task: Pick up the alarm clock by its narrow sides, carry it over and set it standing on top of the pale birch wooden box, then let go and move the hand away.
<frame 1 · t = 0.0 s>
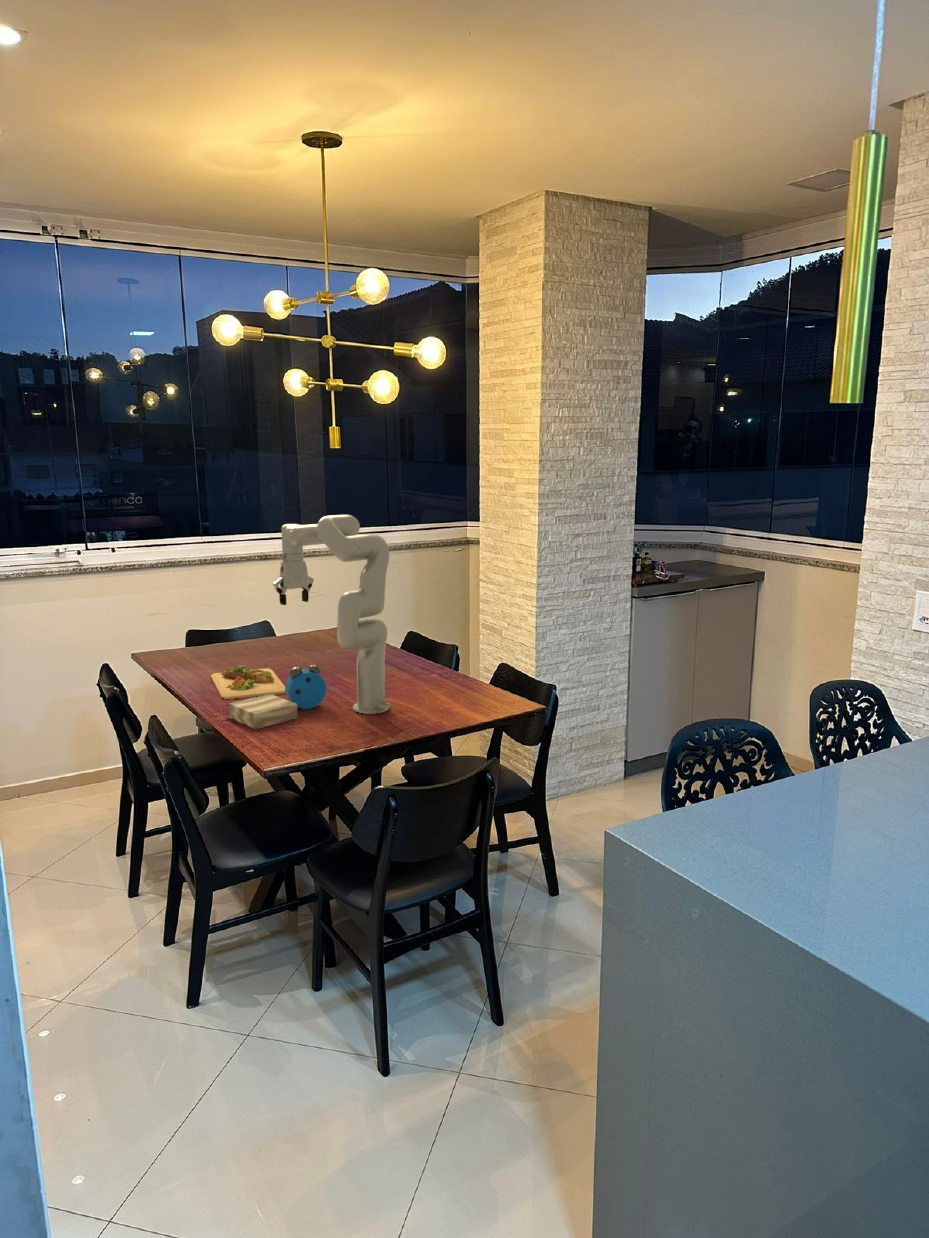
hand: (294, 603, 319), 31 cm above the table, tool pointing down, fingers open, 9 cm apart
cutting board: (248, 686, 324), on the table
wooden box: (263, 718, 283), on the table
alarm clock: (306, 708, 295), on the table
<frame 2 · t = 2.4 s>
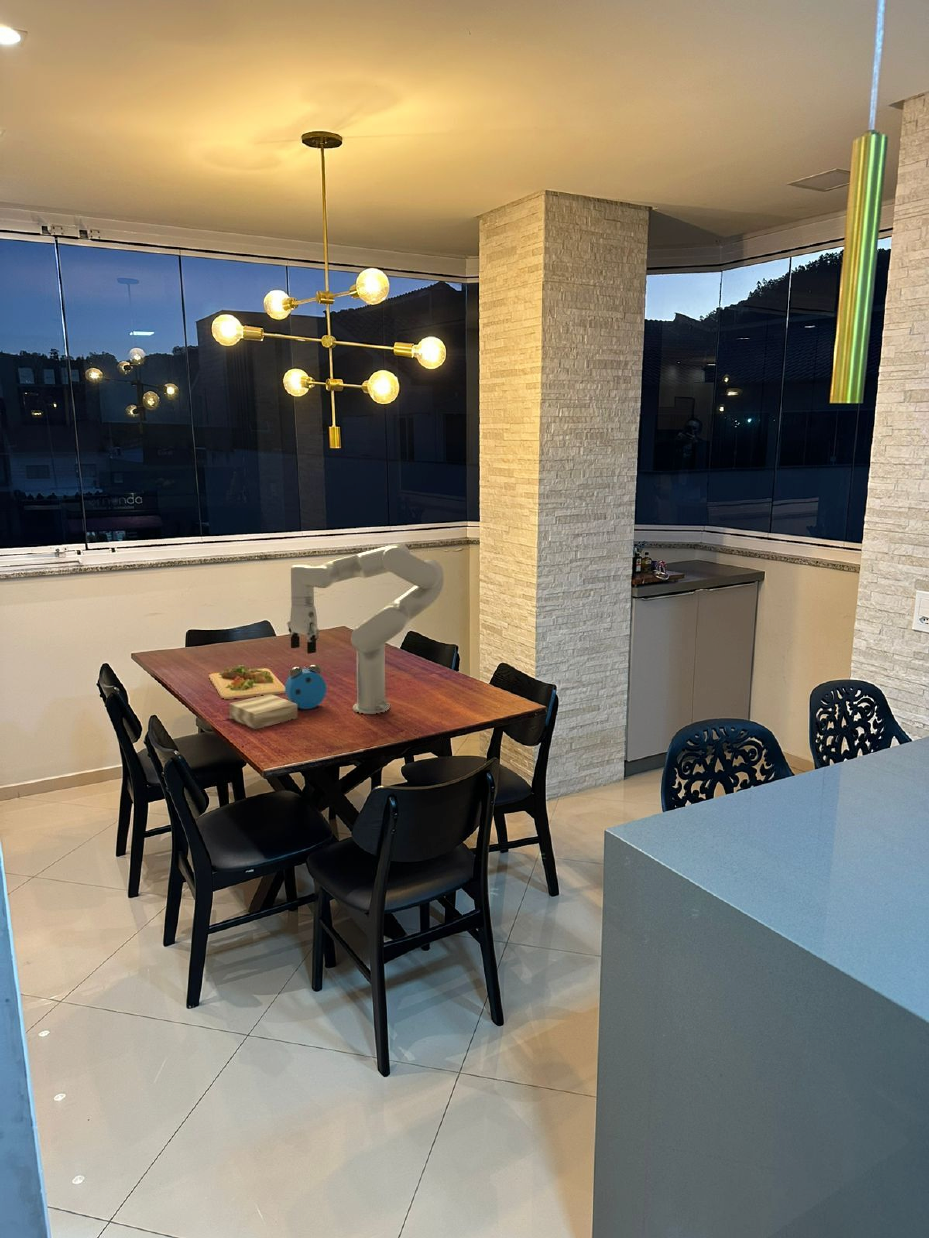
hand: (303, 650, 291), 20 cm above the table, tool pointing down, fingers open, 9 cm apart
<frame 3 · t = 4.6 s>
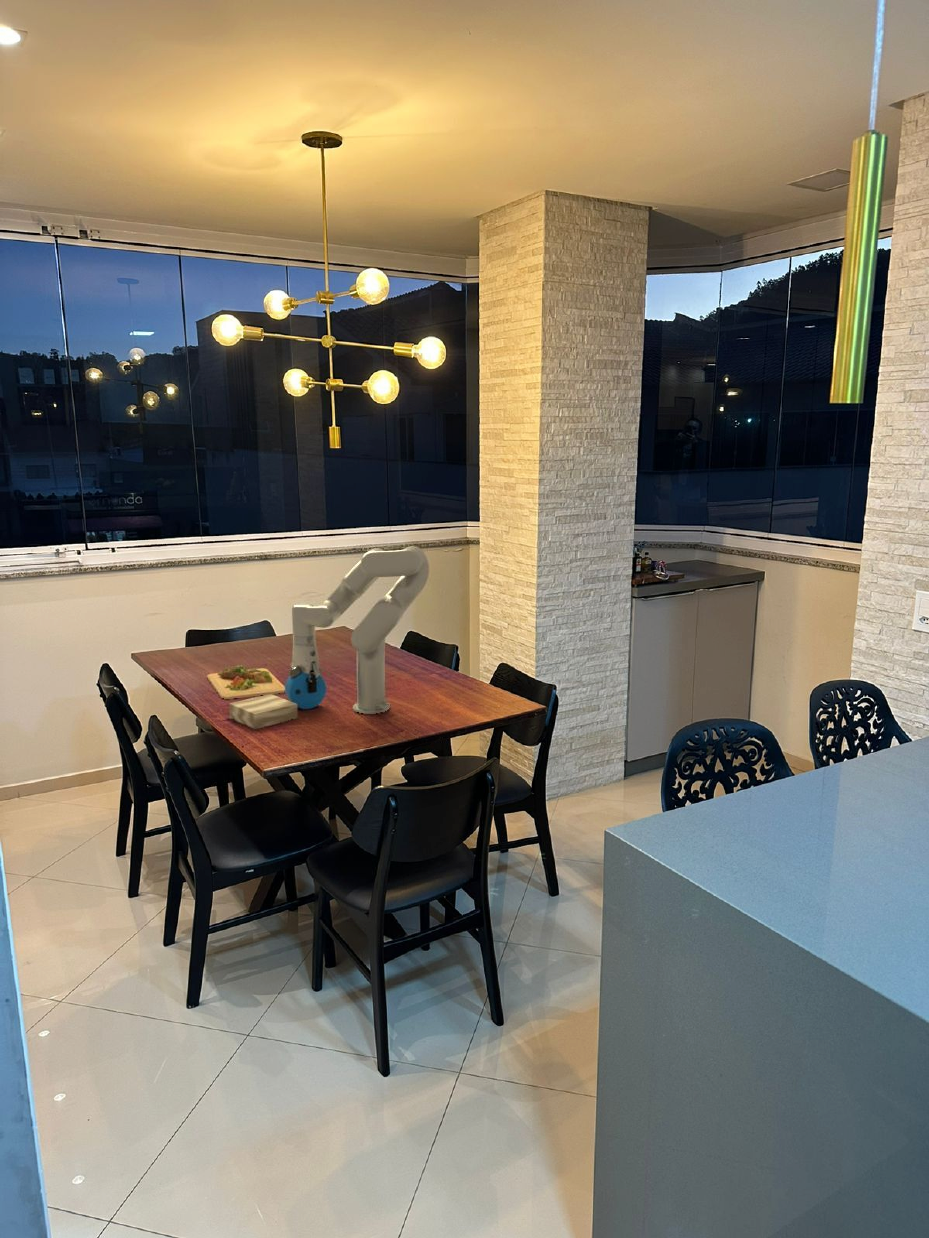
hand: (305, 689, 294), 6 cm above the table, tool pointing down, fingers closed on alarm clock, 7 cm apart
alarm clock: (306, 708, 295), on the table, touching gripper
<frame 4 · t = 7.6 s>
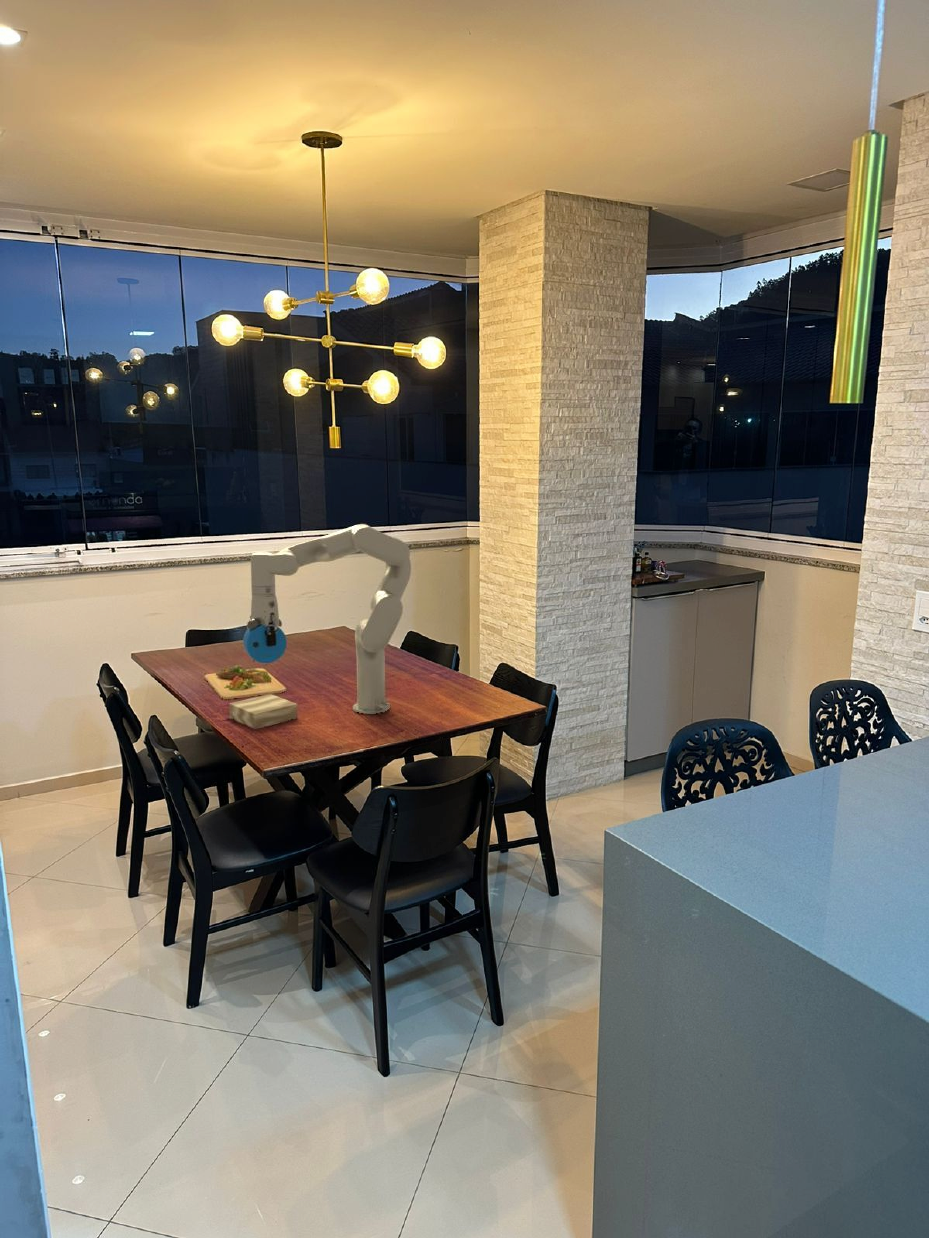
hand: (264, 643, 280), 25 cm above the table, tool pointing down, fingers closed on alarm clock, 7 cm apart
alarm clock: (265, 662, 281), point 19 cm above the table, touching gripper
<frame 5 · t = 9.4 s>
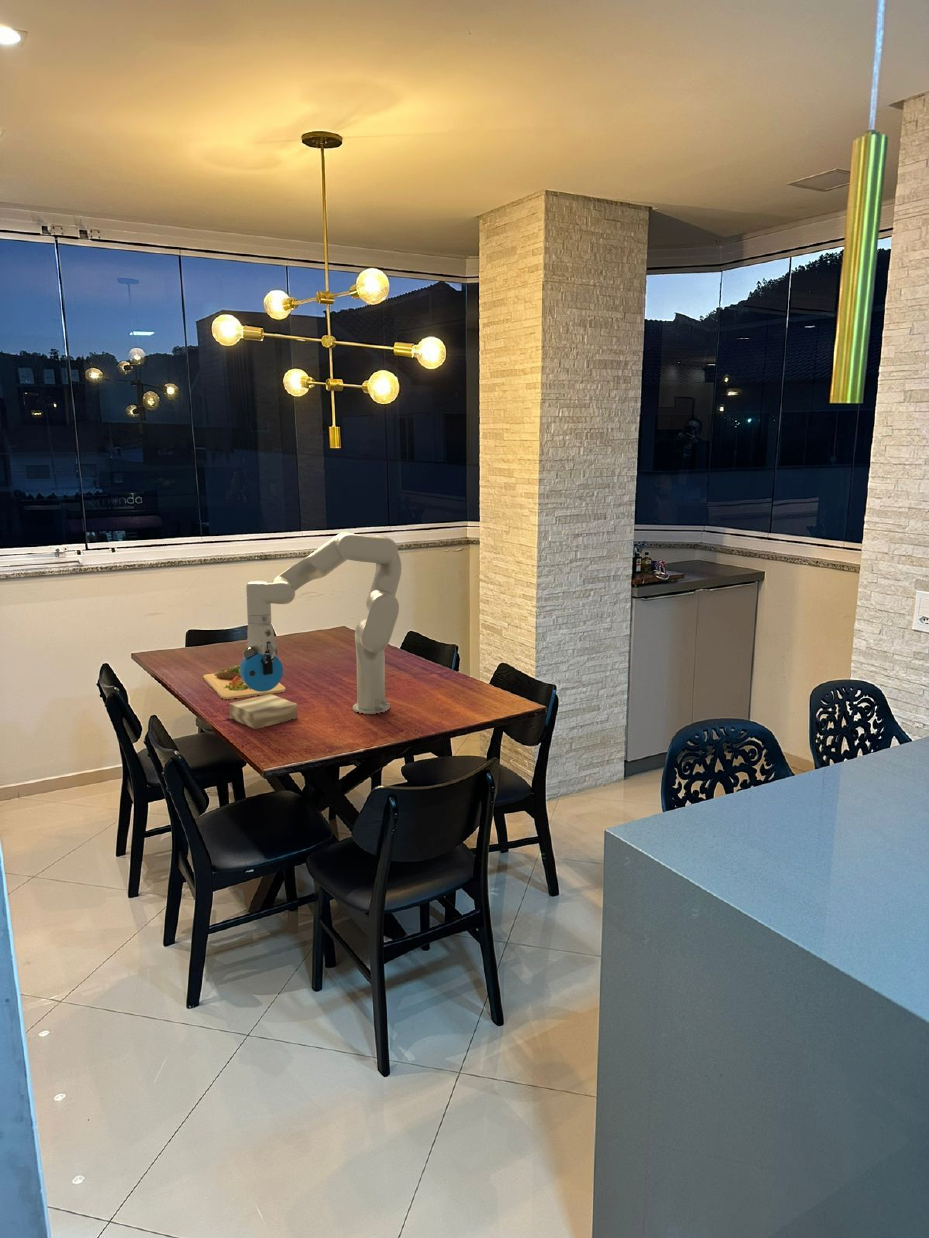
hand: (261, 671, 280), 16 cm above the table, tool pointing down, fingers closed on alarm clock, 7 cm apart
alarm clock: (262, 690, 282), point 9 cm above the table, touching gripper
when the fingers open (13 cm above the table, at t = 11.0 s): alarm clock drops 1 cm, resting on wooden box.
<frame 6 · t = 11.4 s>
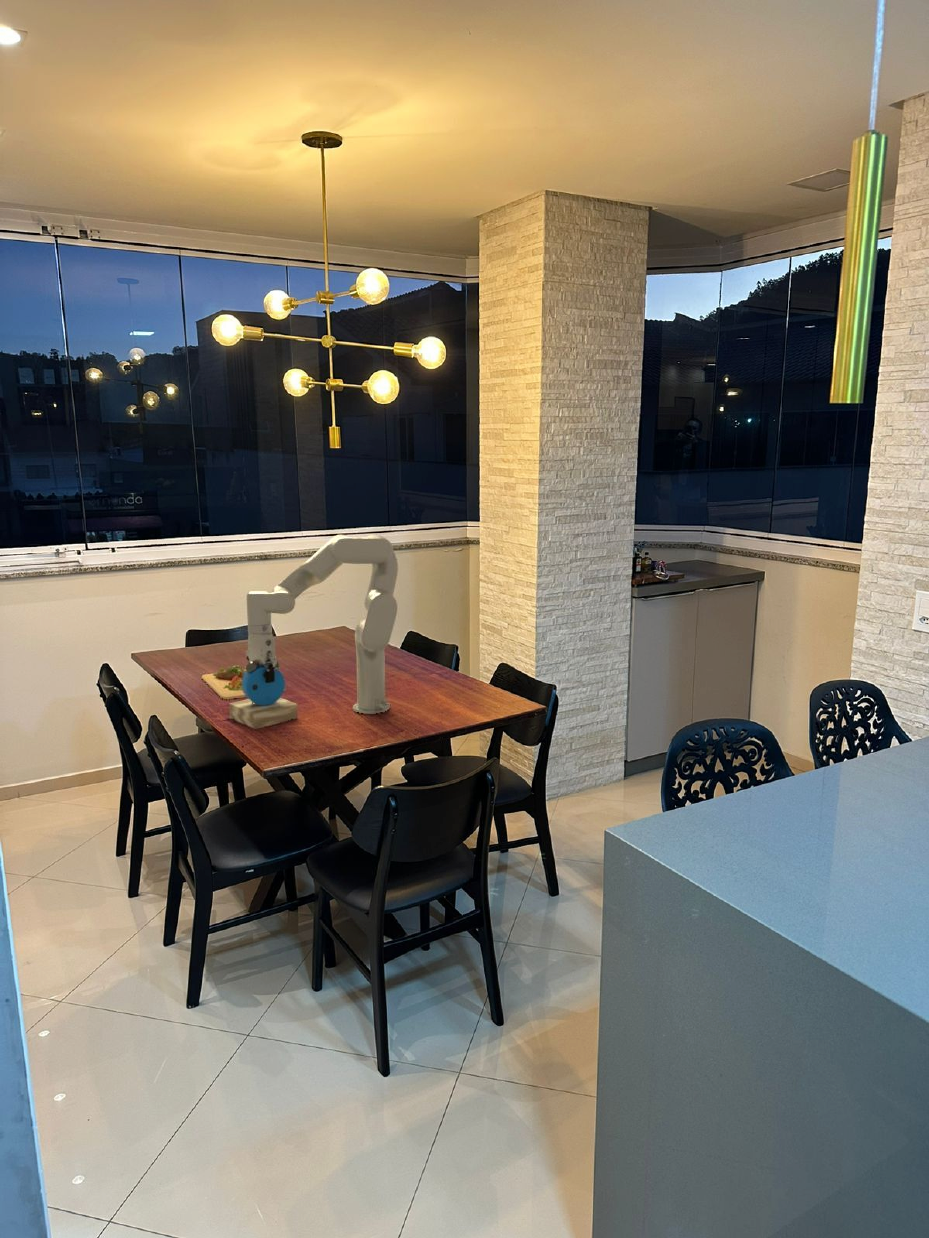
hand: (262, 679, 281), 13 cm above the table, tool pointing down, fingers open, 9 cm apart
alarm clock: (264, 704, 282), point 5 cm above the table, touching wooden box
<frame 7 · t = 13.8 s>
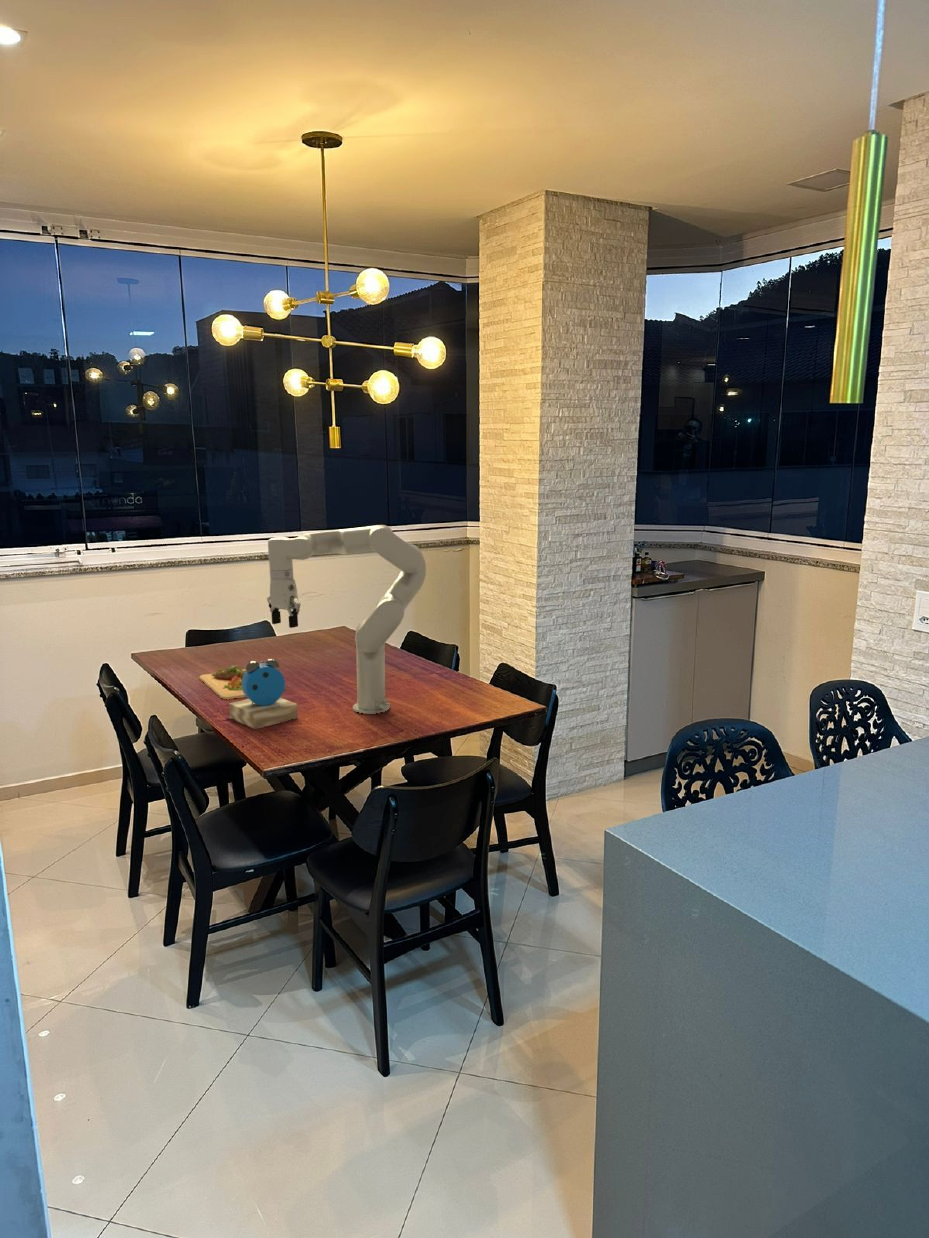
hand: (285, 625, 285), 30 cm above the table, tool pointing down, fingers open, 9 cm apart
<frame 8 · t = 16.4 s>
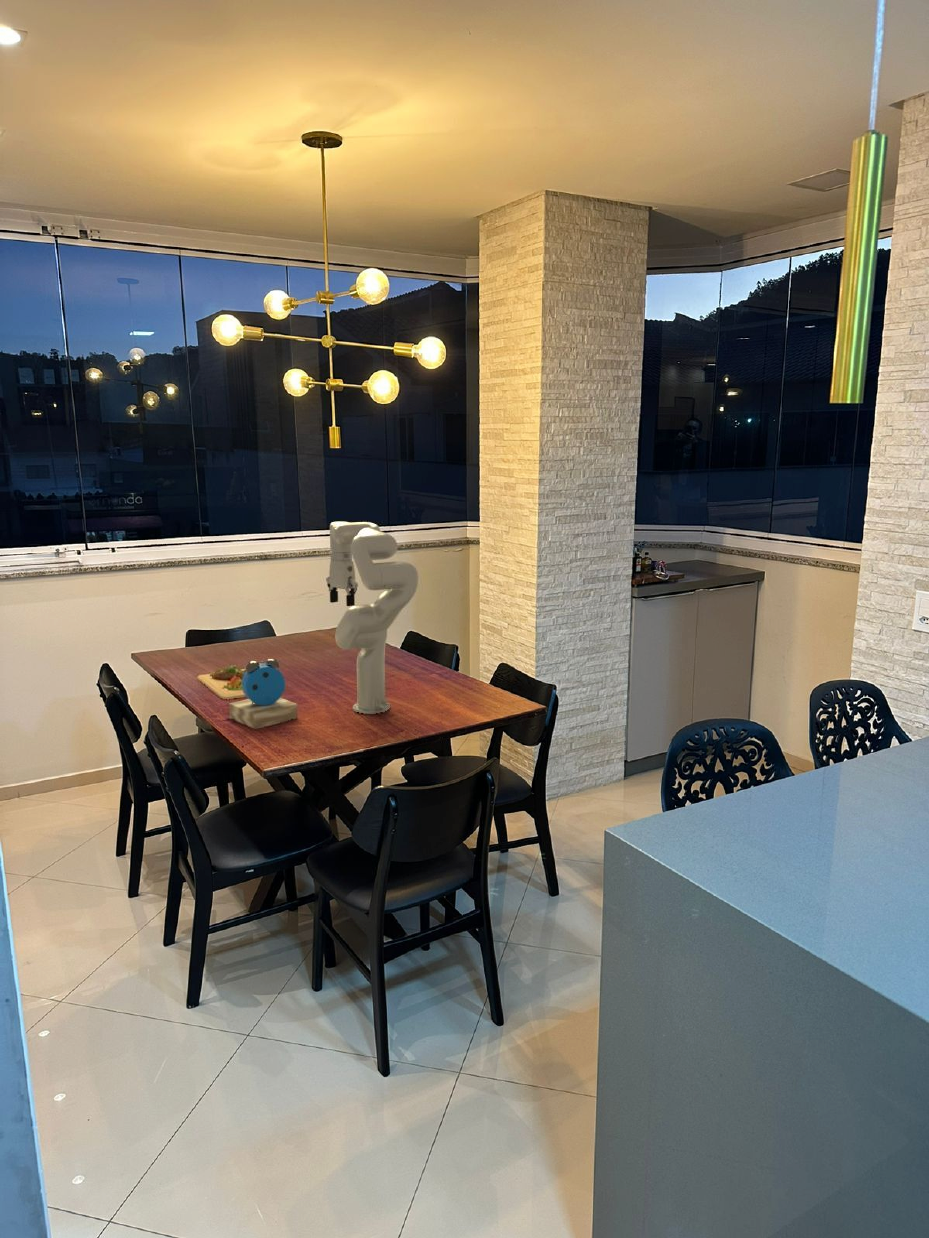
hand: (342, 604, 306), 33 cm above the table, tool pointing down, fingers open, 9 cm apart
at the end: alarm clock inside the target area on the wooden box (0.5 cm from its centre), point 4.8 cm above the wooden box's base; alarm clock touching wooden box; alarm clock tilted 0° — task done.
